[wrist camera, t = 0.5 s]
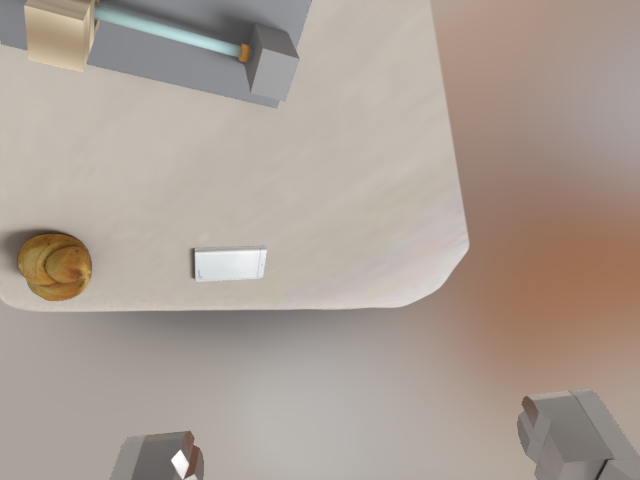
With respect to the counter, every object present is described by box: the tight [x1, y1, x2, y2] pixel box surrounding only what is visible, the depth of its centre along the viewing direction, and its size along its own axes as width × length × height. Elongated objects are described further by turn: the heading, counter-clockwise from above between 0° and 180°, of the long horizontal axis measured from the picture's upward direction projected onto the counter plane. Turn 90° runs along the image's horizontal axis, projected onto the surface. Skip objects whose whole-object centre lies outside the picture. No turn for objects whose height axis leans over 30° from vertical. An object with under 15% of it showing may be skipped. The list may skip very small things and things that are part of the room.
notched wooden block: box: [24, 0, 100, 72], centre depth 39 cm, size 4×4×11 cm
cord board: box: [0, 0, 312, 108], centre depth 44 cm, size 14×30×8 cm, turn 69°
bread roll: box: [17, 234, 92, 301], centre depth 65 cm, size 13×10×8 cm
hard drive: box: [194, 246, 267, 282], centre depth 77 cm, size 2×8×12 cm
